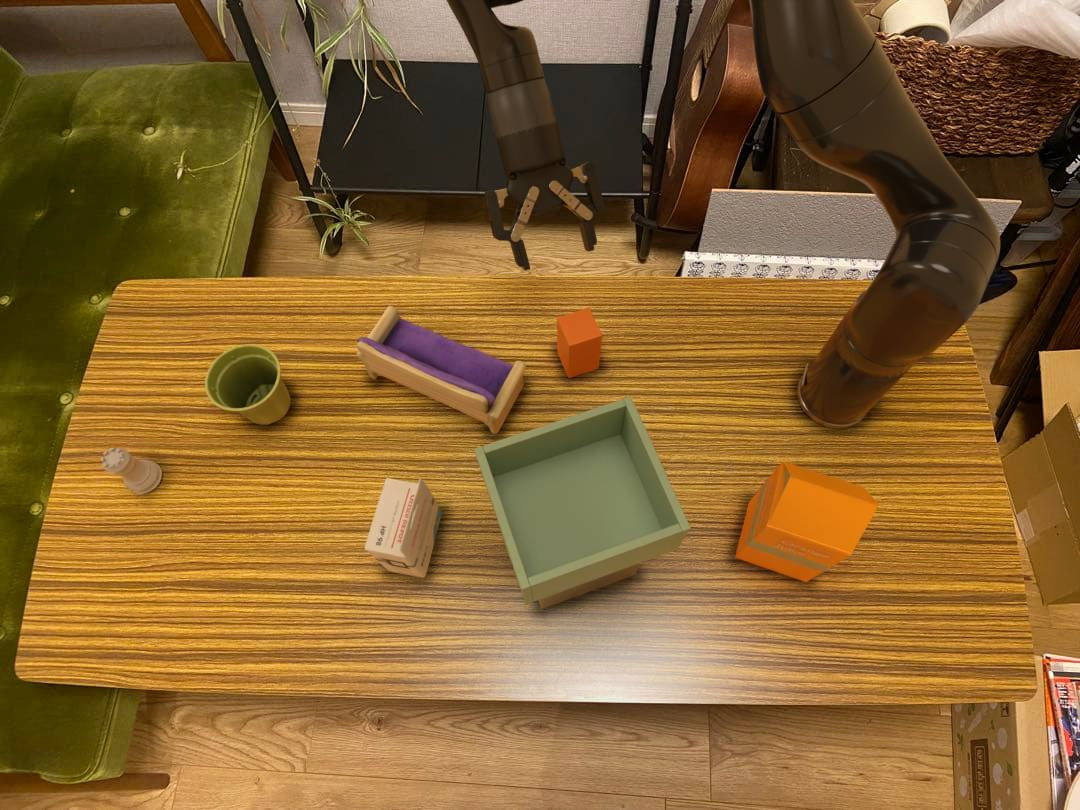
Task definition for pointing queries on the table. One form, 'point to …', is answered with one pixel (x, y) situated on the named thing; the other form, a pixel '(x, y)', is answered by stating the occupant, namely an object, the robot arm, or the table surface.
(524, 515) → the square open-top tray
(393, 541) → the ink box
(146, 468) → the rook chess piece
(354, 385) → the table surface
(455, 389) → the toy sofa
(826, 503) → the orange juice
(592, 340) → the orange rectangular block
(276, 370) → the plant pot
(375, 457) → the table surface
